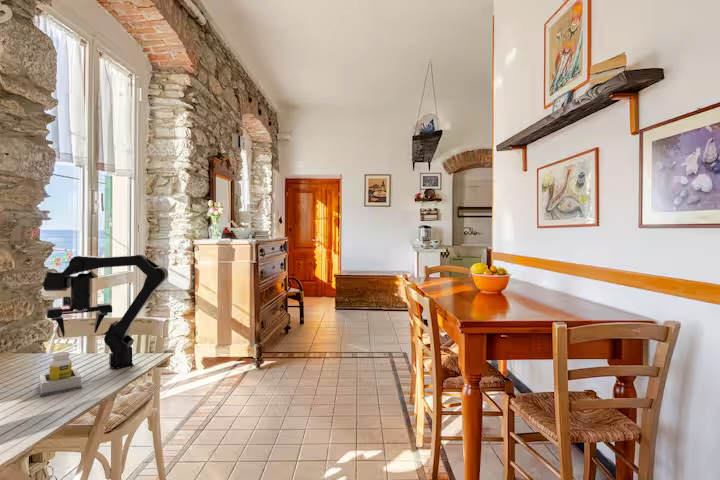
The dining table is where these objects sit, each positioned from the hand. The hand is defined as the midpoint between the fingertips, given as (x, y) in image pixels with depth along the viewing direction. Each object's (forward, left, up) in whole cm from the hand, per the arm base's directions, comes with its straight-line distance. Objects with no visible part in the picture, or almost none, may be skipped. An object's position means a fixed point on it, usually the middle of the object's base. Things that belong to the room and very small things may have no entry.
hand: (79, 334), depth 138 cm
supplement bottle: (+7, +18, -11) cm, 22 cm away
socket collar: (+7, +18, -12) cm, 23 cm away
